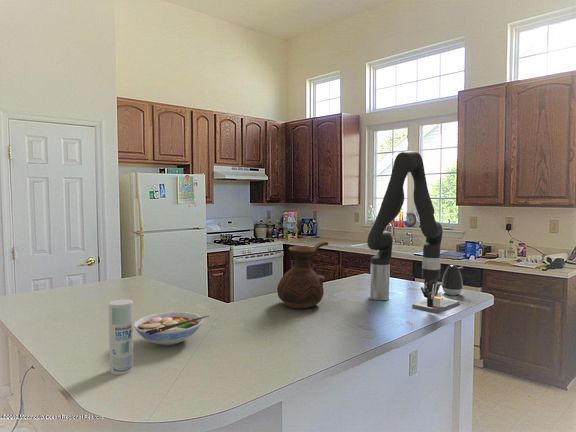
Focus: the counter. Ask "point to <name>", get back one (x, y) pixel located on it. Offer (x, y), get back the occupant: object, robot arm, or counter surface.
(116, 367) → the spray can
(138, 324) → the ramen bowl
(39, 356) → the counter surface
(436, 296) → the on breaker
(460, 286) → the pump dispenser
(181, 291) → the counter surface
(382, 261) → the robot arm
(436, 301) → the block
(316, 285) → the jug
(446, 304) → the switch panel
